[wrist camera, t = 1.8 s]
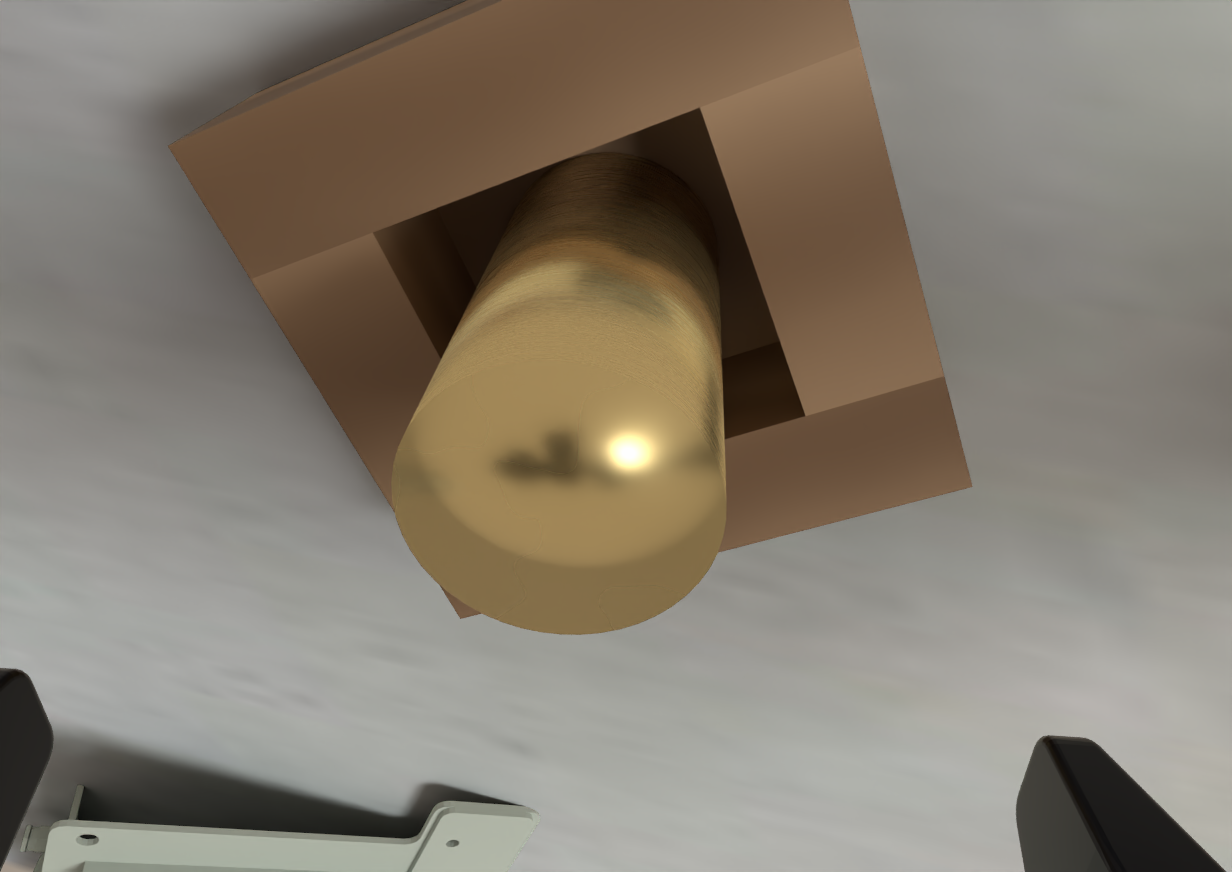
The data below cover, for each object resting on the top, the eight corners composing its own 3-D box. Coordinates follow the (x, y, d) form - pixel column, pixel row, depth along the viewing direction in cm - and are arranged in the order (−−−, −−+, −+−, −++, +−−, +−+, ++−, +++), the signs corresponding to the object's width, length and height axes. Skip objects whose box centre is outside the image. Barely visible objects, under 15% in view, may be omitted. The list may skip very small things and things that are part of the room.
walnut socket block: (932, 388, 20) (972, 486, 17) (493, 513, 22) (460, 618, 19) (792, -143, 15) (814, -135, 12) (257, 92, 18) (167, 146, 15)
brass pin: (746, 317, 19) (769, 592, 12) (557, 377, 20) (480, 663, 13) (675, 118, 17) (656, 313, 10) (470, 197, 18) (329, 420, 11)
